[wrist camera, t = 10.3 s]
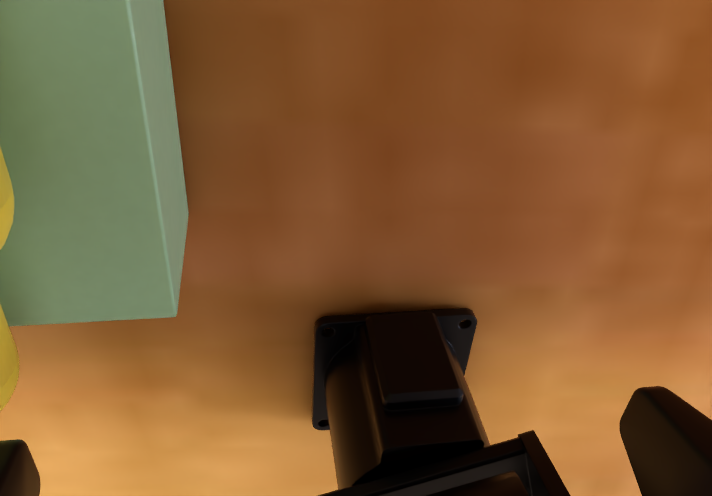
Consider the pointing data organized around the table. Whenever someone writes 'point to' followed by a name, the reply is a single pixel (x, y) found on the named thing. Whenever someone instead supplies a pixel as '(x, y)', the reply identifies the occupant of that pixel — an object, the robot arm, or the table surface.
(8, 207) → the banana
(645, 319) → the table surface
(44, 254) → the green block
